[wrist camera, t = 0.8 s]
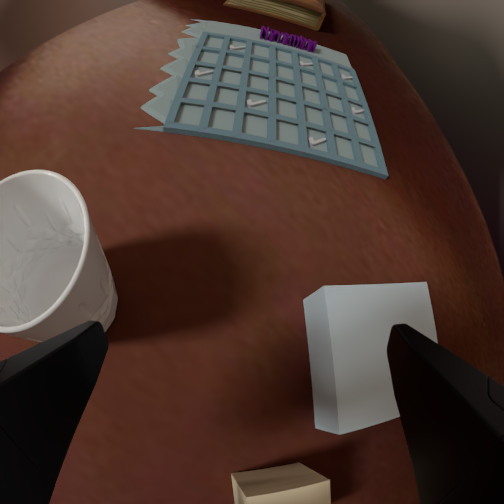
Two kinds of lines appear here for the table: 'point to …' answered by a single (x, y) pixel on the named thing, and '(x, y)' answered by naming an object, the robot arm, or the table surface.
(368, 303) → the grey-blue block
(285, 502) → the birch cube
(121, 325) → the table surface
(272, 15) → the diary
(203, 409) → the table surface
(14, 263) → the white cup
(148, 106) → the calendar
